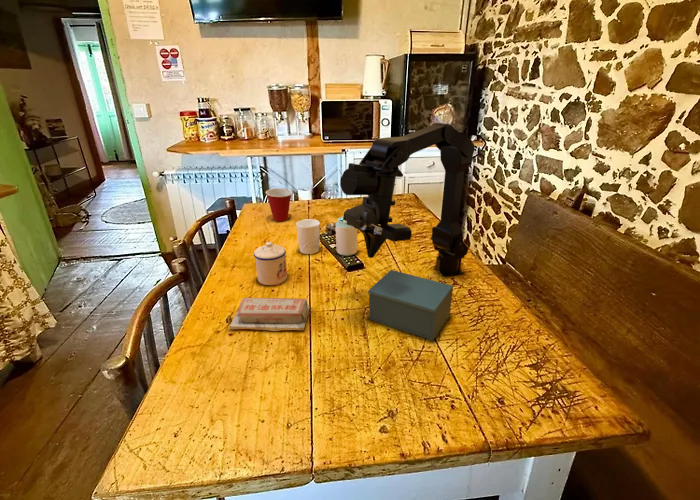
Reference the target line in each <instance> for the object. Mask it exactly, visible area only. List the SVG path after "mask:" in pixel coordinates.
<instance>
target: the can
mask: <svg viewBox="0 0 700 500" xmlns="http://www.w3.org/2000/svg"><path fill="white" fill-rule="evenodd" d="M335 223H336V232H335V243H336V244H335V247H336V249H335V250H336V253H337V254H338V255H340V256H342V257H350V256H353V255H355V254H357V252H358V229H356V228H354V227H353V226H351V225H347V222H346V221H345V220H343V216H339V217H337V221H336V222H335Z"/></svg>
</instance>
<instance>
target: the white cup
mask: <svg viewBox="0 0 700 500" xmlns="http://www.w3.org/2000/svg"><path fill="white" fill-rule="evenodd" d="M295 226H296V227H295V228H296V235H297V242H298V248H299V249H298V250H299V252H300V253H301V254H304V255H313V254H314V255H315V254H317V253H319V251H320V241H321V240H320V239H321V222H320V221H319V220H318V219H314V218H305V219H301V220H300V219H299V220H298V221H296V223H295Z"/></svg>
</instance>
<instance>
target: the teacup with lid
mask: <svg viewBox="0 0 700 500" xmlns="http://www.w3.org/2000/svg"><path fill="white" fill-rule="evenodd" d="M286 253H287V250H286V249H285V247H283V246H282V245H279V244H273V242H272V241H266V242H265V244H264V245H262V246H258V247H257V248H256V249H255V250H254V252H253V256H254V260H255V269H256V276H257V281H258V283H260V284H262V285H264V286H277V285H280V284H282V283H284V282H286V280H287V279H288V270H287V259H286V258H287V257H286Z"/></svg>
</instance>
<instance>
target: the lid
mask: <svg viewBox="0 0 700 500" xmlns="http://www.w3.org/2000/svg"><path fill="white" fill-rule="evenodd" d="M452 289H453V290H454V285H451V284H448V283H445V282H444V283H443V282H439V281H437V280H432V279H428V278H424V277H420V276H417V275H413V274H409V273H405V272H401V271H398V270H393V269H390V270H389V271H388V272H386V273H385V275H384V276H382V277H381V278H380V279H378V281H377V282H376V283H375V284H373V286H371V287H370V288H369V289H368V290H367V293H368V295H369V294H373V295H376V296H379V297H383V298H386V299H389V300H393V301H396V302H399V303H403V304H406V305H409V306H413V307H416V308H419V309H423V310H426V311H429V312H433V313H435V312H436V310H437V309H438V308H439V306H440V305H441V304H442V302H443V301H444V300H445V298H446V297H447V296H448V294H449V293H450V291H451V290H452Z"/></svg>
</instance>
